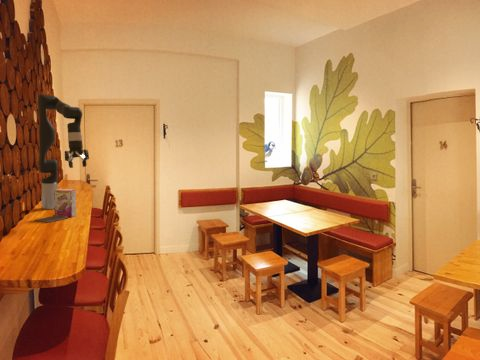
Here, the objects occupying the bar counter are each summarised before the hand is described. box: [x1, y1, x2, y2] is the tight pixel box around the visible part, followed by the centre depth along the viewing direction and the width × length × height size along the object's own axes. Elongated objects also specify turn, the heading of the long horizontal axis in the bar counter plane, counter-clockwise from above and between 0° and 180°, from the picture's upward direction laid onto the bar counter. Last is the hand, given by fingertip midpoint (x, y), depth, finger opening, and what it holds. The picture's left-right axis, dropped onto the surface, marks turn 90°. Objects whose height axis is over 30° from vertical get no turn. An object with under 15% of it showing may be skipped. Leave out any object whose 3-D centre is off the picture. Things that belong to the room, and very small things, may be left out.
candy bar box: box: [54, 188, 77, 218], centre depth 206 cm, size 11×5×16 cm, turn 84°
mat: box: [34, 214, 69, 224], centre depth 197 cm, size 11×13×1 cm
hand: (77, 167), depth 205 cm, fingers open, 8 cm apart
